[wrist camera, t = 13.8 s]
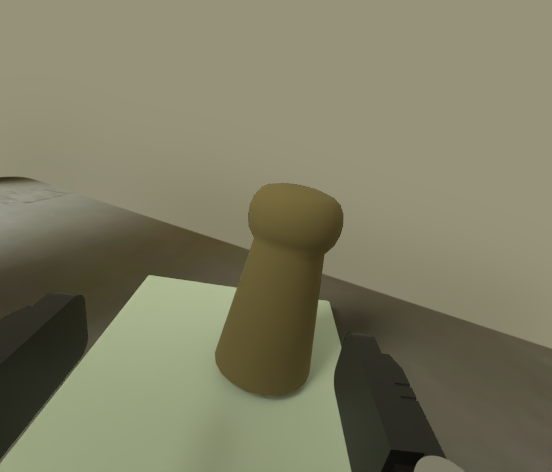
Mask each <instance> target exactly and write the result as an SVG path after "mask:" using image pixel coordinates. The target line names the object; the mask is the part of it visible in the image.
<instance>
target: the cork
mask: <svg viewBox="0 0 552 472" xmlns="http://www.w3.org/2000/svg"><path fill="white" fill-rule="evenodd" d="M248 221H249V228H250V230H251V232H252V234H253V237H254V240H253V243H252V246H251V249H250V251H249V254H248V257H247V260H246V263H245V266H244V269H243V272H242V275H241V278H240V281H239V283H238V286H237V289H236V292H235V295H234V298H233V301H232V304H231V307H230V310H229V313H228V316H227V318H226V321H225V324H224V327H223V330H222V333H221V336H220V339H219V342H218V345H217V348H216V350H215V361H216V365H217V366H218V368H219V370H220V372H221V374H222V375H223V376H224V377H226V378H227V379H228V380H229V381H230V382H231V383H232V384H234V385H236V386H238V387H240V388H242V389H244V390H246V391H248V392H251V393H256V394H260V395H264V396H273V395H284V394H288V393H291V392H294V391H296V390H297V389H299V388H300V387H301V386H302V385H304V384H305V382H306V380H307V378H308V376H309V372H310V364H311V356H312V348H313V340H314V332H315V324H316V316H317V308H318V300H319V292H320V284H321V276H322V268H323V260H324V254H325V253H326V252H328V251H329V250H330V249H331V248H332V247H333V246H334V245H335V244H336V242H337V240H338V238H339V237H340V234H341V231H342V227H343V212H342V209H341V205H340V204H339V203H338V202H337V201H336V200H335V199H334V198H333V197H331V196H329V195H327V194H325V193H323V192H321V191H318V190H316V189H313V188H310V187H306V186H302V185H297V184H288V183H277V184H267V185H265V186H262V187H261V188H260V190H259V191H258V192H257V193H256V194H255V195H254V197H253V199H252V201H251V203H250V207H249V213H248Z"/></svg>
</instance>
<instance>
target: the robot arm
mask: <svg viewBox="0 0 552 472" xmlns="http://www.w3.org/2000/svg"><path fill="white" fill-rule="evenodd" d="M87 340H88V333H87V320H86V308H85V299H84V297H83V296H82V295H78V294H71V293H63V292H56V291H53V292H50V293H49V294H47V295H46V296H45V297H44V298H42V299H41V300H40V301H39V302H37V303H36V304H35V305H34V306H32V307H31V306H27V307H25V308H23V309H20V310H18V311H16V312H14V313H12V314H10V315H7V316H5V317H4V318H3V319H1V320H0V459H1V457H2V456H3V455H4V453H5V452H6V451H7V450H8V448H9V447H10V446H11V445H12V443H13V442H14V441H15V440H16V438H17V437H18V436H19V435H20V433H21V432H22V431H23V430H24V428H25V427H26V426H27V425H28V423H29V422H30V421H31V420H32V418H33V417H34V416H35V414H36V413H37V412H38V411H39V409H40V408H41V407H42V406H43V404H44V403H45V402H46V401H47V399H48V398H49V397H50V396H51V394H52V393H53V392H54V391H55V389H56V388H57V387H58V386H59V384H60V383H61V382H62V380H63V379H64V378H65V377H66V375H67V374H68V373H69V372H70V370H71V369H72V368H73V367H74V365H75V364H76V363H77V362H78V360H79V359H80V358H81V356H82V354H83V353H84V350H85V348H86V345H87ZM334 391H335V396H336V401H337V405H338V410H339V415H340V420H341V424H342V429H343V434H344V439H345V443H346V448H347V453H348V458H349V462H350V467H351V472H465V471H464V470H463V469H461V468H460V467H459V466H457V465H456V464H454V463H453V462H451V461H449V460H447V459H446V457H445V455H444V453H443V451H442V449H441V447H440V445H439V443H438V441H437V439H436V437H435V435H434V433H433V431H432V429H431V427H430V424H429V422H428V420H427V418H426V416H425V414H424V412H423V410H422V408H421V406H420V404H419V402H418V401H416V396H415V394H414V392H413V390H412V388H410V384H409V382H408V380H407V378H406V376H405V374H404V372H403V370H402V368H401V367H400V366H399V365H398V364H397V363H396V362H395V361H394V359H393V358H392V357H391V356H390V355H388V354H382V353H381V351H380V349H379V347H378V344H377V342H376V340H375V338H374V336H373V335H368V334H360V333H353V332H348V333H347V334H346V336H345V338H344V342H343V345H342V348H341V351H340V355H339V358H338V361H337V364H336V368H335V372H334Z"/></svg>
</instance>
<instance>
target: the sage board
mask: <svg viewBox="0 0 552 472" xmlns="http://www.w3.org/2000/svg"><path fill="white" fill-rule="evenodd" d="M236 289H237V288H235V287H228V286H221V285H214V284H207V283H200V282H193V281H186V280H180V279H173V278H166V277H159V276H152V275H149V276H148V277H147V278H146V279H145V281H144V282H143V283H142V284H141V286H140V287H139V288H138V289H137V291H136V292H135V293H134V295H133V296H132V297H131V298H130V300H129V301H128V302H127V303H126V305H125V306H124V307H123V308H122V310H121V311H120V312H119V314H118V315H117V316H116V317H115V319H114V320H113V321H112V322H111V324H110V325H109V326H108V327H107V329H106V330H105V331H104V333H103V334H102V335H101V336H100V338H99V339H98V340H97V341H96V343H95V344H94V345H93V347H92V348H91V349H90V350H89V352H88V353H87V354H86V355H85V357H84V358H83V359H82V360H81V362H80V363H79V364H78V366H77V367H76V368H75V369H74V371H73V372H72V373H71V374H70V376H69V377H68V378H67V379H66V381H65V382H64V383H63V385H62V386H61V387H60V388H59V390H58V391H57V392H56V393H55V395H54V396H53V397H52V398H51V400H50V401H49V402H48V404H47V405H46V406H45V407H44V409H43V410H42V411H41V412H40V414H39V415H38V416H37V417H36V419H35V420H34V421H33V423H32V424H31V425H30V426H29V428H28V429H27V430H26V431H25V433H24V434H23V435H22V437H21V438H20V439H19V440H18V442H17V443H16V444H15V445H14V447H13V448H12V449H11V450H10V452H9V453H8V454H7V456H6V457H5V458H4V459H3V461H2V462H1V463H0V472H351V467H350V462H349V458H348V453H347V448H346V443H345V439H344V434H343V429H342V424H341V420H340V415H339V410H338V405H337V401H336V396H335V391H334V372H335V368H336V364H337V361H338V358H339V355H340V351H341V348H342V347H341V343H340V340H339V336H338V332H337V329H336V325H335V321H334V318H333V314H332V310H331V306H330V303H329V301H324V300H318V308H317V316H316V324H315V332H314V340H313V348H312V356H311V364H310V372H309V376H308V378H307V380H306V382H305V384H304V385H302V386H301V387H300V388H299V389H297V390H296V391H294V392H291V393H288V394H284V395H273V396H264V395H260V394H256V393H251V392H248V391H246V390H244V389H242V388H240V387H238V386H236V385H234V384H232V383H231V382H230V381H229V380H228V379H227V378H226V377H224V376H223V375H222V374H221V372H220V370H219V368H218V366H217V365H216V361H215V350H216V348H217V345H218V342H219V339H220V336H221V333H222V330H223V327H224V324H225V321H226V318H227V316H228V313H229V310H230V307H231V304H232V301H233V298H234V295H235V292H236Z"/></svg>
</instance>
